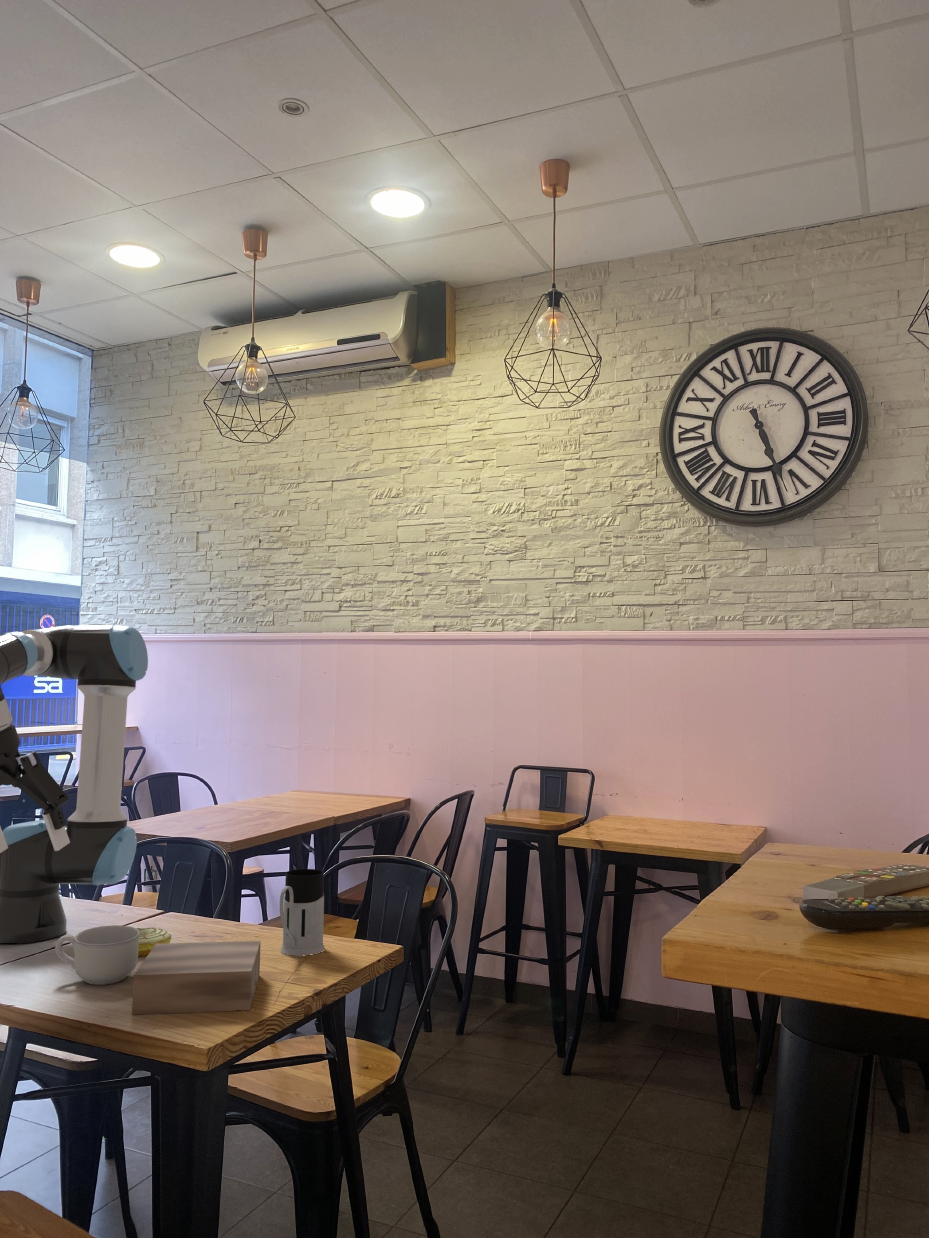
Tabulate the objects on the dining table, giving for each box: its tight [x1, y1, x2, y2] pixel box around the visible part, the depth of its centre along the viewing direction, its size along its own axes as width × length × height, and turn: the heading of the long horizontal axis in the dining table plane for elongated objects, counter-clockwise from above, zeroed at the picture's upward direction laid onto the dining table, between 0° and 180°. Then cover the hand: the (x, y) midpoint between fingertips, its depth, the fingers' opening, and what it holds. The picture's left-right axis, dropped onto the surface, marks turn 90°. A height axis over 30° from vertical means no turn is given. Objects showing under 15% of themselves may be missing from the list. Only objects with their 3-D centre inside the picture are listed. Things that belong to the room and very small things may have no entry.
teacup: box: [54, 924, 140, 986], centre depth 154 cm, size 14×11×8 cm
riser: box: [131, 940, 261, 1016], centre depth 147 cm, size 18×18×6 cm
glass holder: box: [279, 868, 326, 957], centre depth 172 cm, size 9×14×15 cm, turn 164°
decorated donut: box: [135, 927, 172, 957], centre depth 173 cm, size 10×11×4 cm
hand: (31, 849), depth 146 cm, fingers open, 13 cm apart
